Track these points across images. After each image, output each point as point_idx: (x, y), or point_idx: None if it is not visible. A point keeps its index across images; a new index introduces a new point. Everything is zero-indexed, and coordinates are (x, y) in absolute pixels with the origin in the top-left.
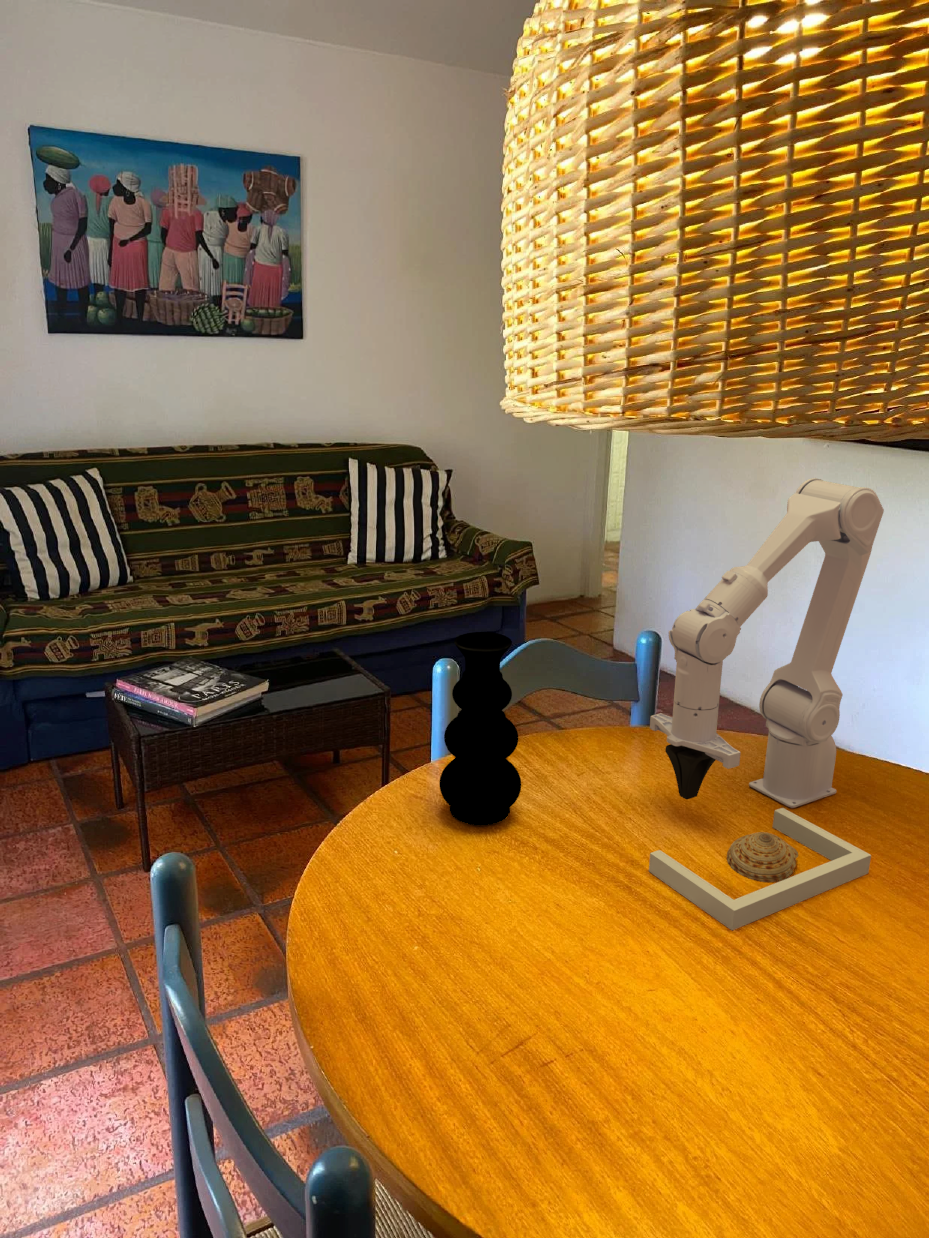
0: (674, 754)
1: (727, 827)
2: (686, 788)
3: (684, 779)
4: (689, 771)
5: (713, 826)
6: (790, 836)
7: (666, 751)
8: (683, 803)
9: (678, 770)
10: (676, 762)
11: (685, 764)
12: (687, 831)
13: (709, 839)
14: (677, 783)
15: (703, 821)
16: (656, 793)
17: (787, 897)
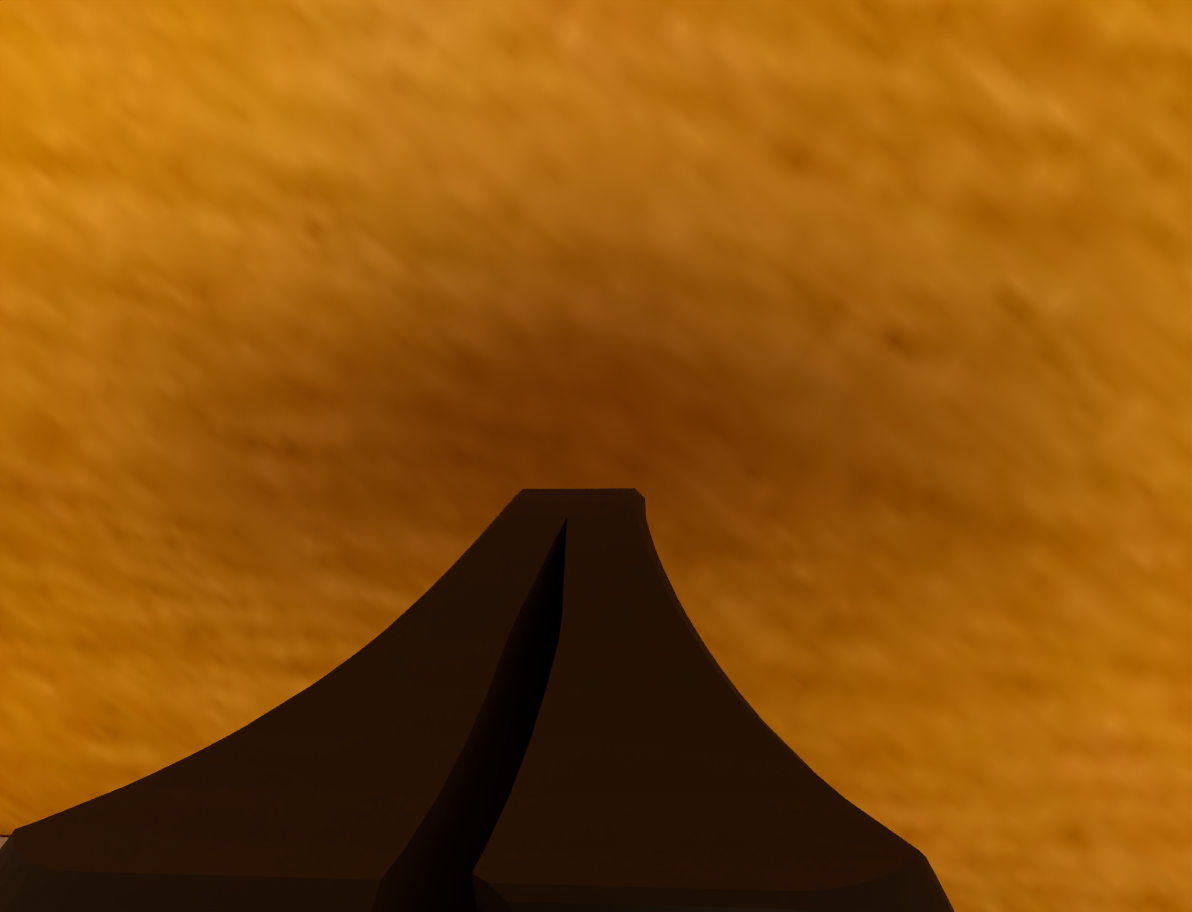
0: (519, 872)
1: (283, 596)
2: (460, 557)
3: (457, 619)
4: (233, 733)
5: (341, 514)
6: (2, 842)
7: (867, 857)
8: (817, 577)
9: (577, 678)
10: (579, 763)
11: (253, 798)
12: (351, 244)
13: (145, 325)
14: (641, 553)
15: (453, 502)
16: (1137, 500)
17: None
